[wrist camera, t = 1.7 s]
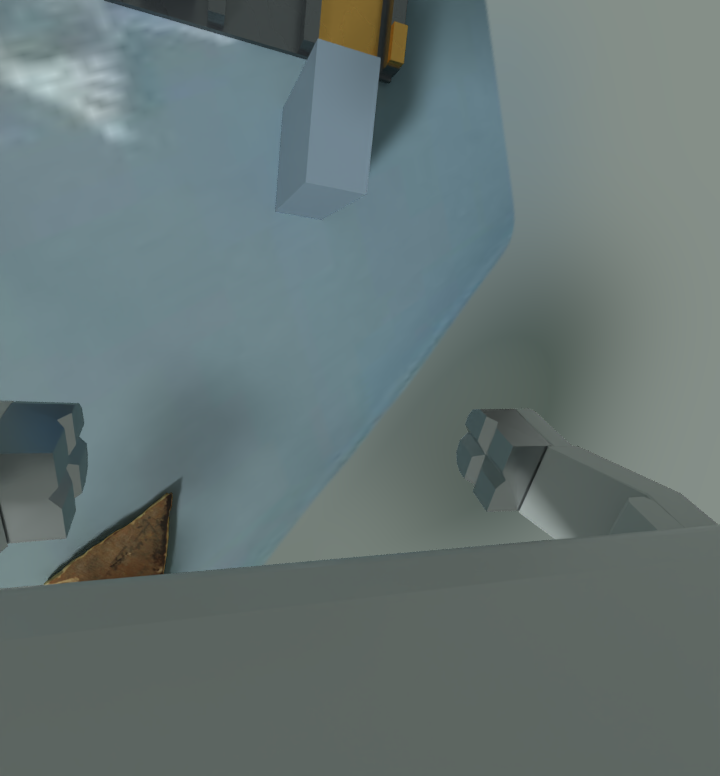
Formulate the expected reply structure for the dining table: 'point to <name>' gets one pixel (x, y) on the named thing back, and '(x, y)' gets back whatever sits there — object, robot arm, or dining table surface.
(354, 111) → the blue-grey rectangular block
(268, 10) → the rack
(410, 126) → the dining table surface
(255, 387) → the dining table surface
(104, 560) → the shard
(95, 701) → the robot arm
